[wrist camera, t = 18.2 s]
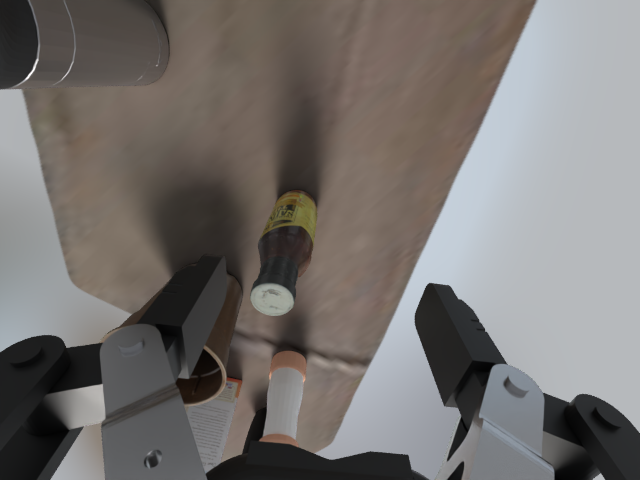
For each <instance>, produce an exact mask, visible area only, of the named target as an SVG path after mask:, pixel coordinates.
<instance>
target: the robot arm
mask: <svg viewBox="0 0 640 480" xmlns="http://www.w3.org/2000/svg"><path fill="white" fill-rule="evenodd" d="M168 58H169V45H168V39H167V35H166V32H165V29H164V27H163V24H162V22H161V21H160V19H159V17H158V15H157V14H156V13H155V11H154V10H153V9H152V7H151V6H150V5H149V4H148V3H147V2H146V1H145V0H0V89H34V88H62V87H98V86H138V85H148V84H150V83H153V82H155V81H156V80H157V79H159V78H160V77H161V75H162V74H163V73H164V71H165V69H166V66H167V64H168ZM226 292H227V276H226V258H225V257H223V256H215V255H207V254H204V255H203V256H202V258H201V259H200V260H199V262H198V263H197V265H196V266H186V267H185V268H183V269H181V270H180V271H178V272H177V273H175V275H174V276H173V277H172V279H171V280H170V281H169V282H168V285H166V286H165V288H164V289H163V290H162V293H160V294H159V295H158V297H157V298H156V299H155V300H154V302H153V303H152V304H151V306H150V307H149V308H148V309H147V311H146V312H145V313H144V315H143V316H142V317H141V318H140V320H139V321H138V322H137V323H136V324H135V325H130V326H127V327H124V328H122V329H120V330H118V331H116V332H114V333H113V334H112V335H110V336H109V337H108V338H107V339H106V340H105V341H104V342H103V343H98V344H91V345H85V346H77V347H70V348H66V346H65V344H64V342H63V340H62V339H61V338H59V337H56V336H52V335H42V336H36V337H31V338H28V339H25V340H22V341H20V342H17V343H15V344H13V345H11V346H10V347H8V348H6V349H5V350H3V351H2V352H0V480H50V479H51V478H52V476H53V474H54V473H55V471H56V470H57V468H58V467H59V465H60V463H61V462H62V460H63V459H64V457H65V456H66V454H67V452H68V451H69V449H70V448H71V446H72V444H73V443H74V441H75V440H76V438H77V437H78V435H79V433H80V432H81V430H82V429H83V427H84V426H87V425H92V424H96V423H101V422H102V426H101V432H102V445H103V458H104V471H105V480H429V479H427V478H426V477H424V476H423V475H421V474H420V473H418V472H416V471H414V470H411V465H410V461H409V456H408V455H403V454H392V453H382V452H371V451H370V452H366V453H362V454H357V455H353V456H349V457H344V458H340V459H335V460H329V459H326V458H323V457H321V456H318V455H316V454H314V453H311V452H309V451H306V450H304V449H301V448H299V447H296V446H294V445H291V444H285V443H274V442H263V441H252V440H251V441H250V446H249V450H248V453H246V454H242V455H238V456H236V457H233V458H230V459H228V460H226V461H224V462H222V463H220V464H219V465H217V466H216V467H214V468H213V469H211V470H210V471H208V472H207V473H206V474H205V471H204V467H203V464H202V461H201V458H200V455H199V451H198V448H197V445H196V442H195V439H194V435H193V432H192V429H191V426H190V422H189V419H188V416H187V413H186V410H185V406H184V403H183V400H182V397H181V394H180V391H179V388H178V387H177V386H176V384H175V382H176V380H177V378H185V379H189V378H190V376H191V374H192V372H193V370H194V368H195V365H196V363H197V361H198V359H199V357H200V354H201V352H202V350H203V348H204V346H205V344H206V341H207V339H208V337H209V335H210V333H211V330H212V328H213V326H214V324H215V322H216V320H217V317H218V315H219V313H220V311H221V309H222V306H223V304H224V302H225V298H226ZM415 326H416V329H417V332H418V335H419V338H420V340H421V343H422V346H423V349H424V351H425V354H426V357H427V360H428V363H429V365H430V368H431V371H432V374H433V376H434V379H435V382H436V385H437V387H438V390H439V393H440V395H441V399H442V401H443V404H444V406H447V407H456V408H458V409H459V411H460V416H459V417H458V419H457V421H456V424H455V427H454V430H453V433H452V436H451V439H450V442H449V445H448V448H447V451H446V453H445V456H444V460H443V462H442V466H441V468H440V470H439V472H438V474H437V476H436V478H435V480H593V478H595V477H596V476H597V475H599V474H600V473H601V474H602V475H603V477H604V478H605V480H640V433H639V432H638V431H637V429H636V428H635V427H634V426H633V425H632V423H631V422H630V421H629V420H628V419H627V418H626V417H625V416H624V415H623V414H622V413H620V412H619V411H618V410H617V409H615V408H614V407H613V406H611V405H610V404H608V403H606V402H605V401H603V400H601V399H599V398H597V397H595V396H592V395H588V394H580V395H577V396H576V397H575V398H574V399H573V400H572V402H570V403H569V402H566V401H564V400H561V399H558V398H556V397H553V396H550V395H548V394H545V393H543V392H542V391H541V389H540V388H539V386H538V385H537V384H536V382H535V381H533V379H532V378H530V377H529V376H528V375H527V374H525V373H524V372H522V371H521V370H519V369H517V368H515V367H513V366H510V365H508V364H507V363H506V361H505V360H504V358H503V357H502V355H501V353H500V352H499V350H498V349H497V347H496V346H495V344H494V343H493V341H492V339H491V338H490V336H489V335H488V333H487V332H485V328H484V327H483V325H482V324H481V323H480V322H479V319H478V318H477V316H476V314H475V313H474V311H473V310H472V309H471V308H470V307H469V306H468V305H467V304H466V303H465V302H464V301H462V300H459V299H458V298H457V296H456V295H455V293H454V291H453V290H452V288H451V287H450V286H449V285H441V284H434V283H429V284H428V285H427V286H426V288H425V290H424V293H423V295H422V298H421V300H420V302H419V305H418V307H417V310H416V313H415Z"/></svg>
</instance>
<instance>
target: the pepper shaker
mask: <svg viewBox="0 0 640 480" xmlns="http://www.w3.org/2000/svg"><path fill="white" fill-rule="evenodd" d="M269 376H270V383H269V388H268V392H267V415H266V421H265V427H264V433H263V437H262V438H261V439H260V440H259V441H263V442H274V443H285V444H291V445H294V446H296V447H299V446H298V443H297V441H296V430H297V419H298V413H299V409H300V405H301V401H302V396H303V382H304V381H305V377H306V359H305V358H304V357H303V356H302V355H301V354H299V353H297V352H294V351H282V352H279V353H277V354H276V355H275V356H274V357H273V359H272V363H271V368H270V373H269Z"/></svg>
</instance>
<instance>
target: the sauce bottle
mask: <svg viewBox="0 0 640 480" xmlns="http://www.w3.org/2000/svg"><path fill="white" fill-rule="evenodd" d="M316 221H317V206H316V204H315V202H314V199H313V198H312V197H311V196H310V195H309V194H308V193H306V192H304V191H301V190H292V191H289V192H286V193H285V194H283V195H282V196H281V197H280V198H279V199H278V200H277V202H276V204H275V206H274V208H273V211H272V213H271V215H270V217H269V219H268V222H267V224H266V226H265V229H264V231H263V233H262V235H261V238H260V240H259V243H258V249H259V254H260V261H261V268H260V274H259V276H258V279H257V280H256V281H255V282H254V284H253V287H252V290H251V294H250V299H251V302H252V304H253V306H254V307H255V308H256V309H257V310H258V311H260V312H261V313H264V314H267V315H273V316H277V315H282V314H285V313H287V312H288V311H289V310H290V309H292V307H293V305H294V302H295V297H296V289H295V285H296V281H297V278H298V277H300V276H301V275H302V274H303V273H304V272H305V271H306V269H307V268H308V266H309V264H310V261H311V254H312V251H313V245H314V237H315V229H316Z"/></svg>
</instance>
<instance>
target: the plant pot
mask: <svg viewBox="0 0 640 480" xmlns="http://www.w3.org/2000/svg"><path fill="white" fill-rule="evenodd" d="M196 265H197V263H196V264H190V265H187V266H196ZM185 267H186V266H185ZM185 267H183V268H185ZM183 268H182V269H183ZM180 270H181V269H180ZM180 270H179V271H180ZM226 276H227V292H226V298H225V302H224V304H223V306H222V309H221V311H220V313H219V315H218V317H217V320H216V322H215V324H214V326H213V328H212V330H211V333H210V335H209V337H208V339H207V341H206V344H205V346H204V348H203V350H202V352H201V354H200V357H199V359H198V361H197V363H196V365H195V368H194V370H193V372H192V374H191V376H190V378H189V379H185V378H177V380H176V382H175V384H176V386H177V387H178V388H179V391H180V394H181V397H182V400H183V403H184V406H195V405H200V404H203V403H206V402H209V401H211V400H212V399H214V398H216V397H217V396H218V395H219V394H220V393H221V392H222V391H223V389H224V387H225V384H226V380H227V372H226V368H227V363H228V359H229V347H230V343H231V339H232V335H233V331H234V328H235V324H236V320H237V316H238V313H239V309H240V306H241V302H242V290H241V287H240V285H239V283H238V281H237V280H236V279H235V277H234V276H232V275H229V274H228V273H226ZM171 279H172V278H171ZM171 279H170V280H171ZM170 280H169V281H170ZM169 281H168V282H169ZM168 282H167V284H166V285H168ZM166 285H165V286H166ZM165 286H164V287H163V288H162V289H161V290H160V291H159V292H158V293H157V294H156V295H154V296H153V297H152V298H151V299H150V300H149V301H148V302H147V303H146V304H145V305H144V306H143V307H142V308H141V309H140V310H139V311H137V312H136V313H134V314H133V315H131V316H130V317H129V318H128V319H127V320H126V321H125V322H124V323H123V324H122V325H121V326H120V327H118V328H115V329H113V330H112V331H110V332H108V333H107V334H106V335H105V336H104V337H103V338H102V339H101V341H100V342H99V343H103V342H104V341H105V340H106V339H107V338H108V337H109V336H110V335H112V334H113V333H114V332H116V331H118V330H120V329H122V328H124V327H127V326H130V325H135V324H136V323H137V322H138V321H139V320H140V318H141V317H142V316H143V315H144V313H145V312H146V311H147V309H148V308H149V307H150V306H151V304H152V303H153V302H154V300H155V299H156V298H157V297H158V295H159V294H160V293H162V290H163V289H164V288H165Z"/></svg>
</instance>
